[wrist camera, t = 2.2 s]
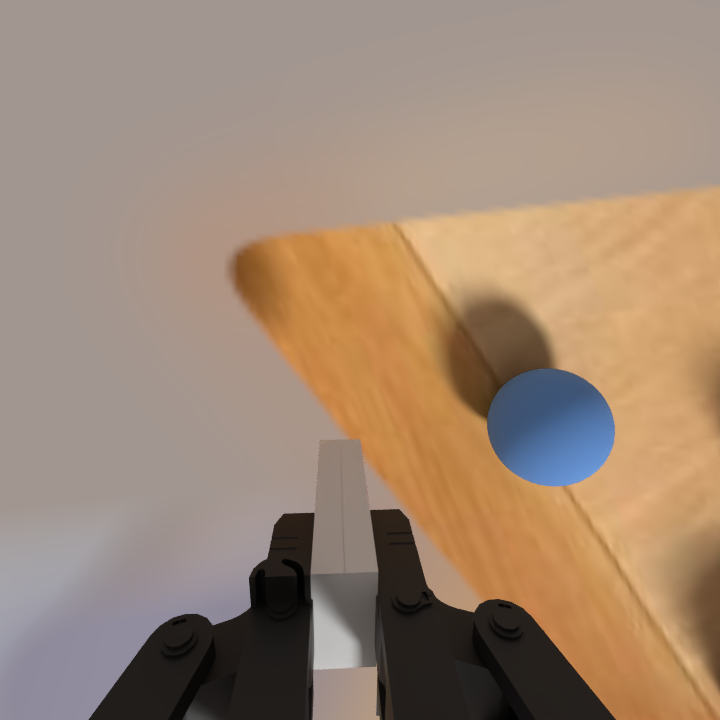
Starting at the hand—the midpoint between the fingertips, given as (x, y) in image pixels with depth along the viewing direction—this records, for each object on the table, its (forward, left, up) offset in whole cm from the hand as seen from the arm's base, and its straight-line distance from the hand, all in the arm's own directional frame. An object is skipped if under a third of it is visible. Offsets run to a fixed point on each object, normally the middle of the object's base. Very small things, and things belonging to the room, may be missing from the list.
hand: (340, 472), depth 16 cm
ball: (-10, 0, -4) cm, 11 cm away
